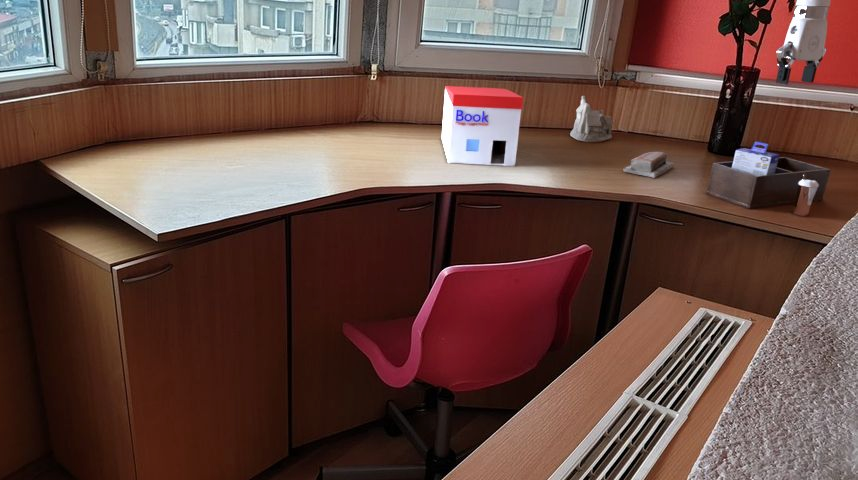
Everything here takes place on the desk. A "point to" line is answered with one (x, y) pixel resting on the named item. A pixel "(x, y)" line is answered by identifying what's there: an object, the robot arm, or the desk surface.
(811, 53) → the robot arm
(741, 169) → the ink cartridge box
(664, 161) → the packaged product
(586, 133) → the ceramic cottage
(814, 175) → the divided storage box
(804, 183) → the milkshake
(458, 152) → the bookstore
